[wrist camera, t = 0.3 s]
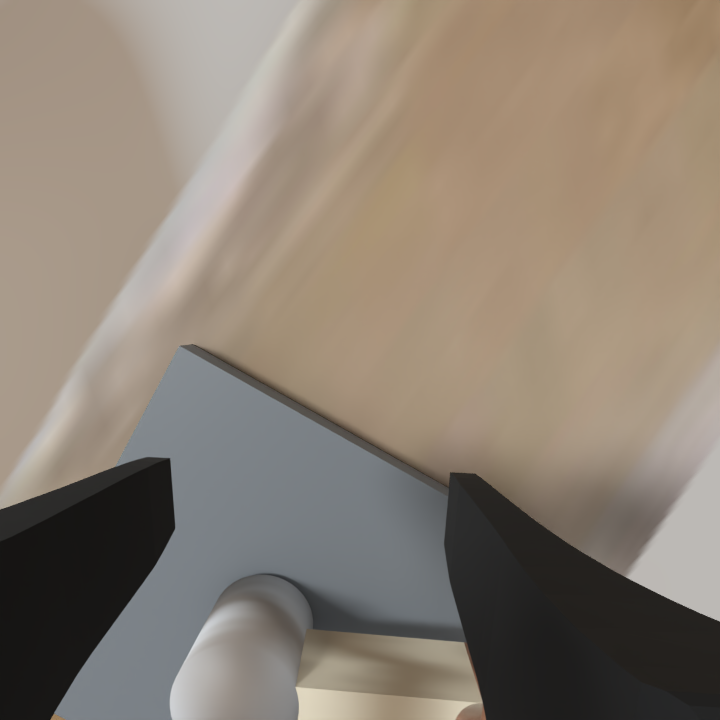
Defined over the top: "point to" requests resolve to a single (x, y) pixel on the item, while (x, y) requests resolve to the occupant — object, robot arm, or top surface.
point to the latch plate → (266, 532)
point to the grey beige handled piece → (314, 666)
